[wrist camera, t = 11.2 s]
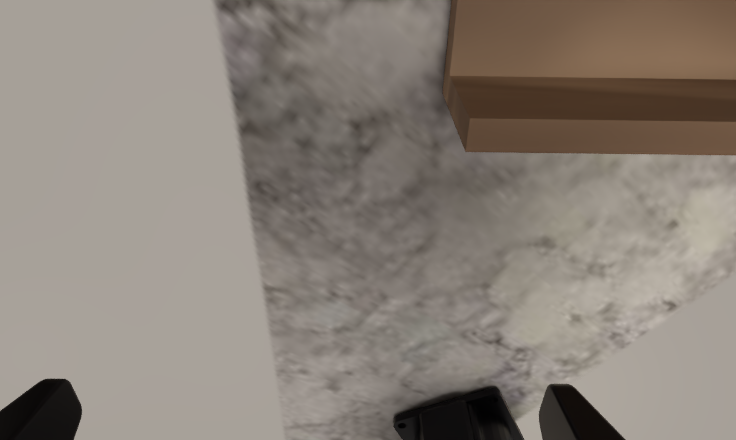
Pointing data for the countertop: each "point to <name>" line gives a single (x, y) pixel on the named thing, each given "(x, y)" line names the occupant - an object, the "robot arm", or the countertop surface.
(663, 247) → the countertop surface
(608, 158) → the countertop surface
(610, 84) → the cabinet floor
